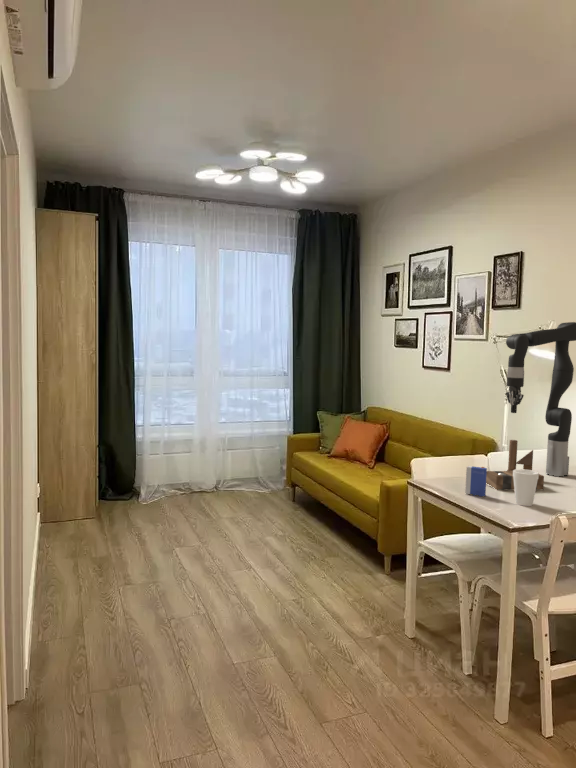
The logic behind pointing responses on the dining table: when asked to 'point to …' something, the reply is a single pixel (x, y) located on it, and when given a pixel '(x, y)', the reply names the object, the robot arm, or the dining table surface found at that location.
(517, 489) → the foam cup
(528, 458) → the wooden post with wedge
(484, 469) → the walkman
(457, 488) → the dining table surface
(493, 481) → the band block
